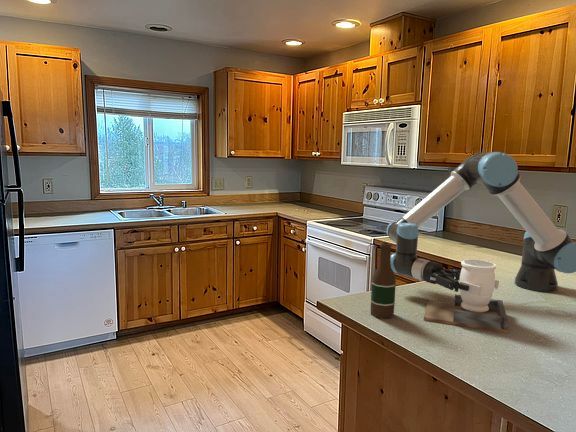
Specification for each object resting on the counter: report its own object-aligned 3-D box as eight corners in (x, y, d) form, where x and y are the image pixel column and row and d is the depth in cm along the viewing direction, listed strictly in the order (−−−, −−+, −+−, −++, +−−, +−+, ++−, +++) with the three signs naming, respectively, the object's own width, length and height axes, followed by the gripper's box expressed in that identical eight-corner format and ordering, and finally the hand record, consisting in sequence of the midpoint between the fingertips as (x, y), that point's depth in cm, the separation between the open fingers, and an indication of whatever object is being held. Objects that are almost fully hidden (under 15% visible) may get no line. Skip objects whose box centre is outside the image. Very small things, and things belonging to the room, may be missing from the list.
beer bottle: (365, 314, 139) (368, 243, 135) (378, 308, 144) (382, 240, 141) (385, 321, 133) (389, 247, 130) (398, 315, 139) (402, 243, 135)
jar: (463, 300, 144) (466, 257, 142) (495, 307, 137) (500, 262, 135) (452, 308, 136) (456, 263, 133) (487, 316, 129) (491, 269, 127)
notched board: (502, 313, 141) (503, 300, 141) (507, 333, 126) (508, 318, 125) (427, 303, 150) (428, 290, 150) (423, 320, 135) (424, 306, 134)
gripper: (445, 276, 157) (505, 292, 139) (407, 287, 143) (468, 306, 126) (447, 256, 156) (507, 270, 138) (408, 265, 142) (470, 282, 125)
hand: (489, 287), depth 132 cm, fingers closed on jar, 10 cm apart
